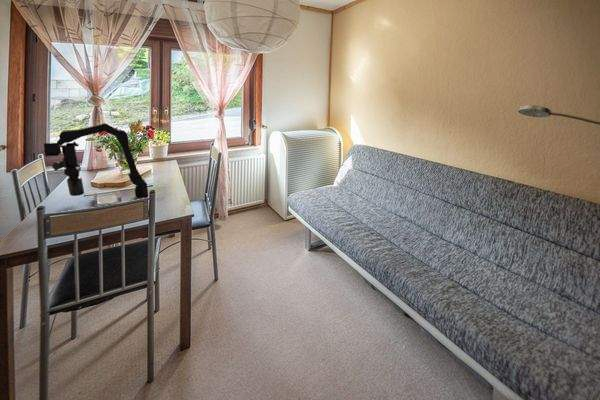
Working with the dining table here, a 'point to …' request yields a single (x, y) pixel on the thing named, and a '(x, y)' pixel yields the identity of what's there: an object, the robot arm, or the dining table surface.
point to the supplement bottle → (75, 187)
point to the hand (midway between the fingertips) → (75, 183)
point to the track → (107, 199)
